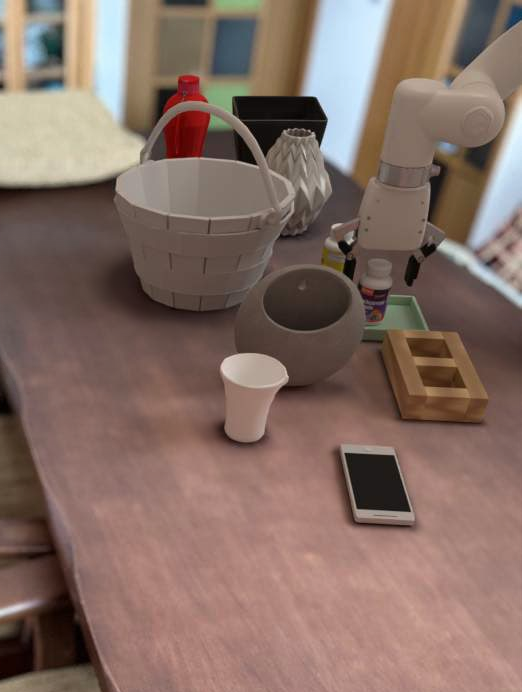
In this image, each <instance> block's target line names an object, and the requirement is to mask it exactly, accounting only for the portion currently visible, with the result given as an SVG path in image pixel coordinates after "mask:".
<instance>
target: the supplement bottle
mask: <svg viewBox="0 0 522 692" xmlns="http://www.w3.org/2000/svg"><path fill="white" fill-rule="evenodd" d="M342 224H343V223H334V224H332V225H331V227H330V231H329V235H330V236H328V237H327V238H326V239H325V240H324V244H323V249H322V255H321V261H320V265H322V266H326V267H330V268H333V269H335V270H337V271H339V272H341V273H343V268H344V263H345V258H346V256H345V255H344V254H343V252H342V251H341V250H340V249H339V247H338V244H337V241H336V238H335V235H334V232H333V229H334V228H335V227H337V226H339V225H342ZM353 237H354V231H351V232H349V233H347V234H345V235H344V239H345V241H346V242H347V243H348V245H349V244H350V243H351V242H352V241H353V240H354V239H353Z"/></svg>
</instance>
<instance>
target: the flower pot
mask: <svg viewBox="0 0 522 692" xmlns="http://www.w3.org/2000/svg"><path fill="white" fill-rule="evenodd" d="M231 111H232V113H231V114H232V115H234V116H236V117H237V118H238V119H239V120H240V121H241V122H242V123H243V124H244V125H245V126H246V127H247V128H248V129H249V131H250V132H251V134H252V135H253V136H254V138H255V139H256V141H257V143H258V145H259V147H260V149H261V151H262V153H263V155H264V157H265V158H266V156H267V154H268V151H269V150H270V149H271V148H272V147H273V146H274V145H275V143H276V141H277V139H278V138H280V137H281V134H282V132H283V130H288V129H294V128H297V129H304V130H310V132H314V133H315V139H316V140H317V141H318V146H319V149H320V150H321V146H322V143H323V139H324V136H325V133H326V130H327V126H328V122H329V118H328V115H327V114H326V113H325V111H324V109H323V107H322V104H321V103H320V101H319V99H318V97H317V96H313V95H312V96H311V95H233V96H232V97H231ZM232 129H233V139H234V140H233V141H234V148H235V149H234V150H235V156H236V161H240V162H244V163H248V164H252V165H256V166H258V164H257V162H256V160H255V158H254V156H253V153H252V151H251V150H250V148H249V147H248V145H247V144H246V142H245V141H244V139H243V138H242V137H241V136H240V135H239V133H238V132H237V131H236V130H235V129H234V128H233V127H232Z"/></svg>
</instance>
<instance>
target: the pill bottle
mask: <svg viewBox="0 0 522 692" xmlns="http://www.w3.org/2000/svg"><path fill="white" fill-rule="evenodd" d="M392 269H393V264H392V262H390V261H389V260H387V259H382V258H371V259H369V260H367V262H366V266H365V272H363V273H361V275H360V276H359V278H358V282H357V286H356V287H357V289H358V290H359V292H360V294H361V297H362V299H363V303H364V307H365V316H366V319H365V325H369V326H373V325H378V324H380V323H382V321H383V319H384V316H385V312H386V308H387V304H388V300H389V296H390V295H391V292H392V288H393V283H394V281H393V277H392V276H391V273H392V271H393V270H392Z"/></svg>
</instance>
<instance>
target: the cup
mask: <svg viewBox="0 0 522 692" xmlns="http://www.w3.org/2000/svg"><path fill="white" fill-rule="evenodd" d="M221 362H222V363H221V364H220V366H219V374H220V377H221V379H222V382H223V384H224V395H225V401H226V403H225V405H226V407H225V409H226V410H225V421H224V426H223V429H224V432H225V434H226V436H227V437H229V438H230V439H231V440H234V441H236V442H240V443H253V442H257V441H259V440H260V439H261V438H262V437H263V436H264V435H265V429H266V424H267V420H268V415H269V411H270V408H271V405H272V403H273V401H274V399H275V397H276V396H275V395H276V394H277V393H278V392H279V390H280V389H281V388H282V387H284V386H283V385H285V384H286V383H287V382H288V380H289V376H288V375H287V371H286V368H285V367H284V366H283V365H282V364H281V363H280V362H279V361H278V360H276V359H274V358H272V357H269V356H267V355H262V354H257V353H243V354H238V353H237V354H233V355H230V356H228V357H225V358H224V359H223V361H221Z"/></svg>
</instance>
